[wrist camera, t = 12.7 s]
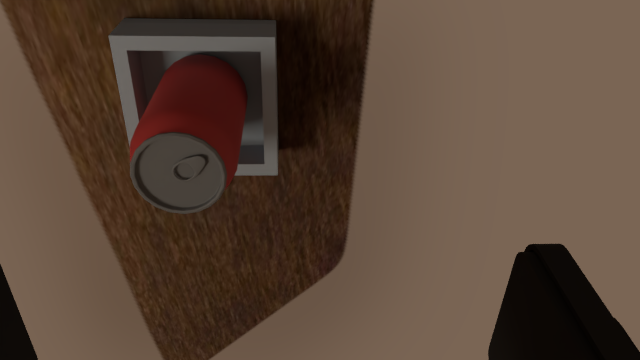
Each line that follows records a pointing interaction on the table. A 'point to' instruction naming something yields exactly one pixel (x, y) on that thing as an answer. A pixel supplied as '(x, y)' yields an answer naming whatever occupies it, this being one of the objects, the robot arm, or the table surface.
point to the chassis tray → (213, 40)
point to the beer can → (190, 135)
